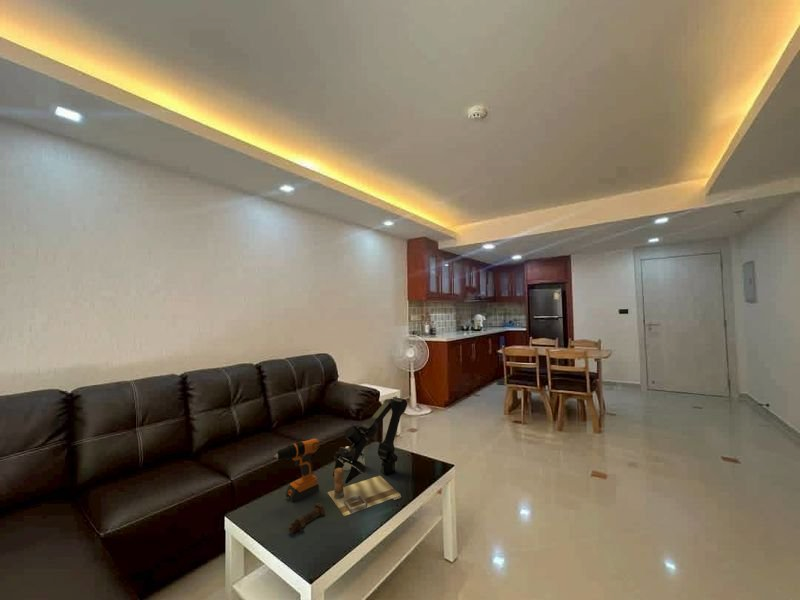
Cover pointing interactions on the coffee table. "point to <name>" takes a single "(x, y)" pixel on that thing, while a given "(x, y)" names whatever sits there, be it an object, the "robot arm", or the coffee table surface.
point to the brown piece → (338, 483)
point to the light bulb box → (348, 466)
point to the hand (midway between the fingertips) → (339, 479)
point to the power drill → (302, 459)
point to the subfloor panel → (364, 495)
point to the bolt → (307, 518)
